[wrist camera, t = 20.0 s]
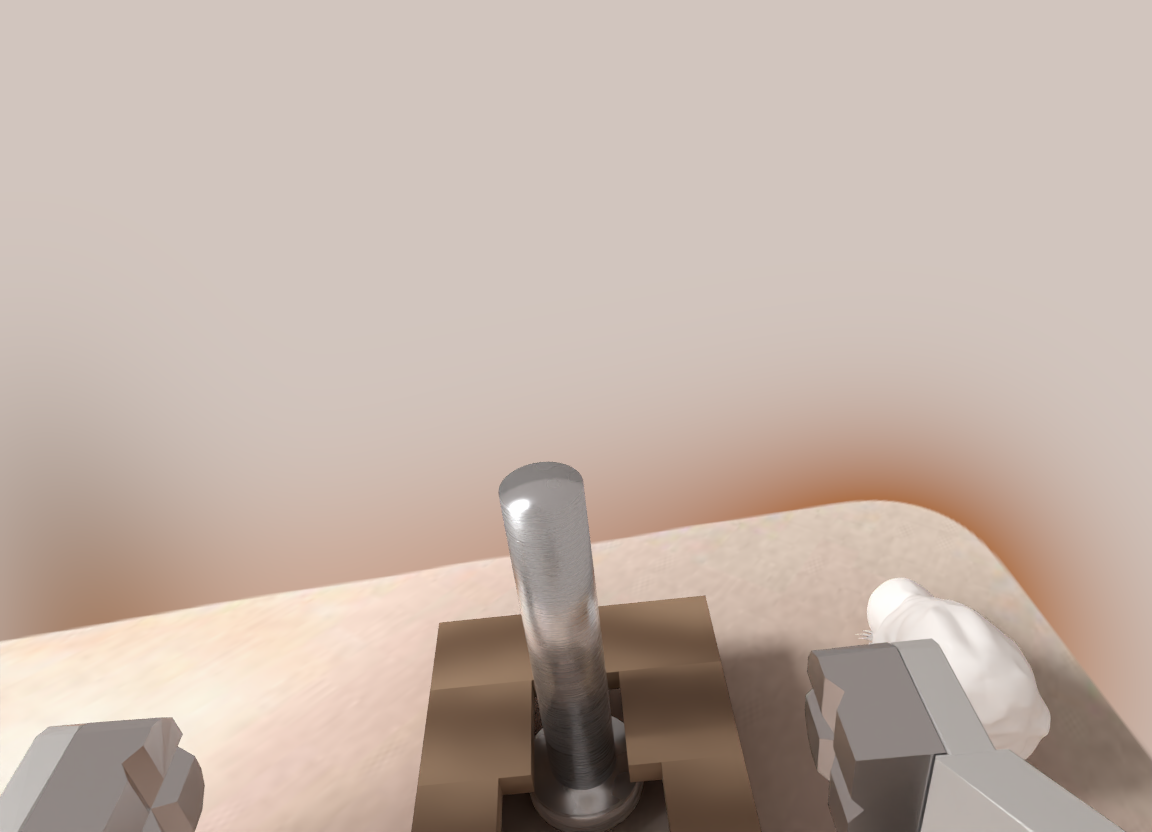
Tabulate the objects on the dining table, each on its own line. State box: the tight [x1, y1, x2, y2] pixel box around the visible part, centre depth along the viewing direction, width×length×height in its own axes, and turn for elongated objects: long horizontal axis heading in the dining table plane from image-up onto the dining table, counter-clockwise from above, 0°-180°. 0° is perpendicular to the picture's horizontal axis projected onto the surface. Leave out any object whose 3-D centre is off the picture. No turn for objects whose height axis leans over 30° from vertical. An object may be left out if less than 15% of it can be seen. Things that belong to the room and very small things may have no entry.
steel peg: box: [499, 462, 643, 832], centre depth 36 cm, size 6×6×18 cm
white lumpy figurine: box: [856, 578, 1051, 760], centre depth 40 cm, size 6×8×12 cm
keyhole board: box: [411, 596, 761, 832], centre depth 37 cm, size 19×14×5 cm
